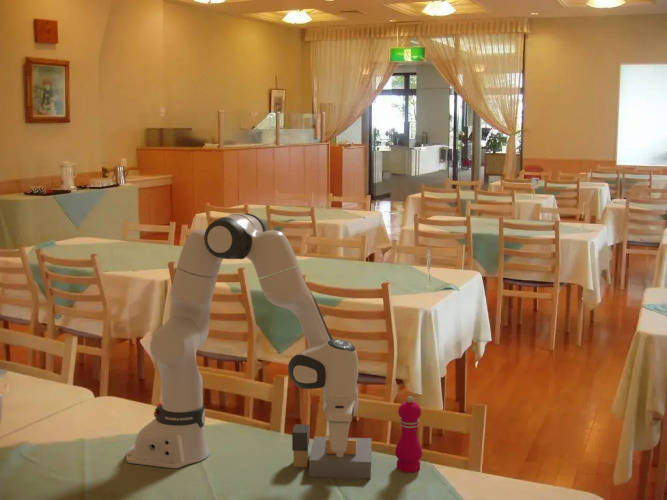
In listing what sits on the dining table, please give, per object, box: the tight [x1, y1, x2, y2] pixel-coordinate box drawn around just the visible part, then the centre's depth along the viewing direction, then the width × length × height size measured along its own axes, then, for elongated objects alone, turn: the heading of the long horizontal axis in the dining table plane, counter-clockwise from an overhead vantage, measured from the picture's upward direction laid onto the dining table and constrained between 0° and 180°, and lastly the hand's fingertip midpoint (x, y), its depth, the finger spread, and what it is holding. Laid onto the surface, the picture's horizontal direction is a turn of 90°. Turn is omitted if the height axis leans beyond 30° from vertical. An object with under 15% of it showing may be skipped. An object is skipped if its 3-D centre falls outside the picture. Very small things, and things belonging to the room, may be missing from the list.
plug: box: [291, 423, 310, 468], centre depth 219 cm, size 4×6×10 cm, turn 177°
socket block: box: [308, 436, 373, 480], centre depth 218 cm, size 16×16×5 cm
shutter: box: [326, 439, 357, 455], centre depth 218 cm, size 8×8×4 cm
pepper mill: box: [394, 395, 423, 474], centre depth 216 cm, size 7×7×20 cm
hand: (340, 454), depth 209 cm, fingers closed
